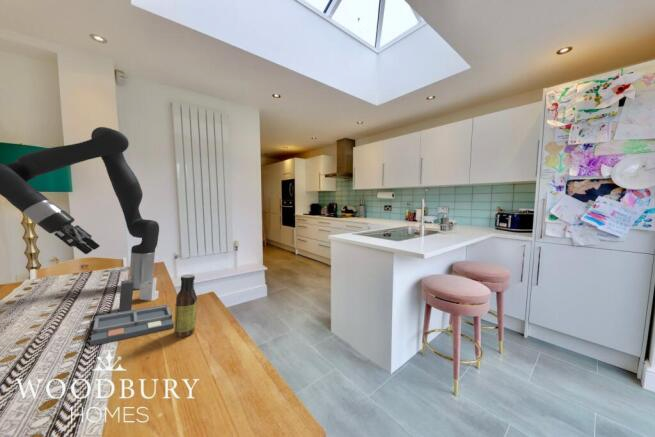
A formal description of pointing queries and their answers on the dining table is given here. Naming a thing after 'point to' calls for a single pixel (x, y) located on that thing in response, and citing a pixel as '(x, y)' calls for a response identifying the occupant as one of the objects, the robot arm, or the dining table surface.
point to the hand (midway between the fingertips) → (93, 250)
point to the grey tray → (130, 324)
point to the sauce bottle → (185, 307)
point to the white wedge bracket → (148, 290)
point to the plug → (126, 295)
